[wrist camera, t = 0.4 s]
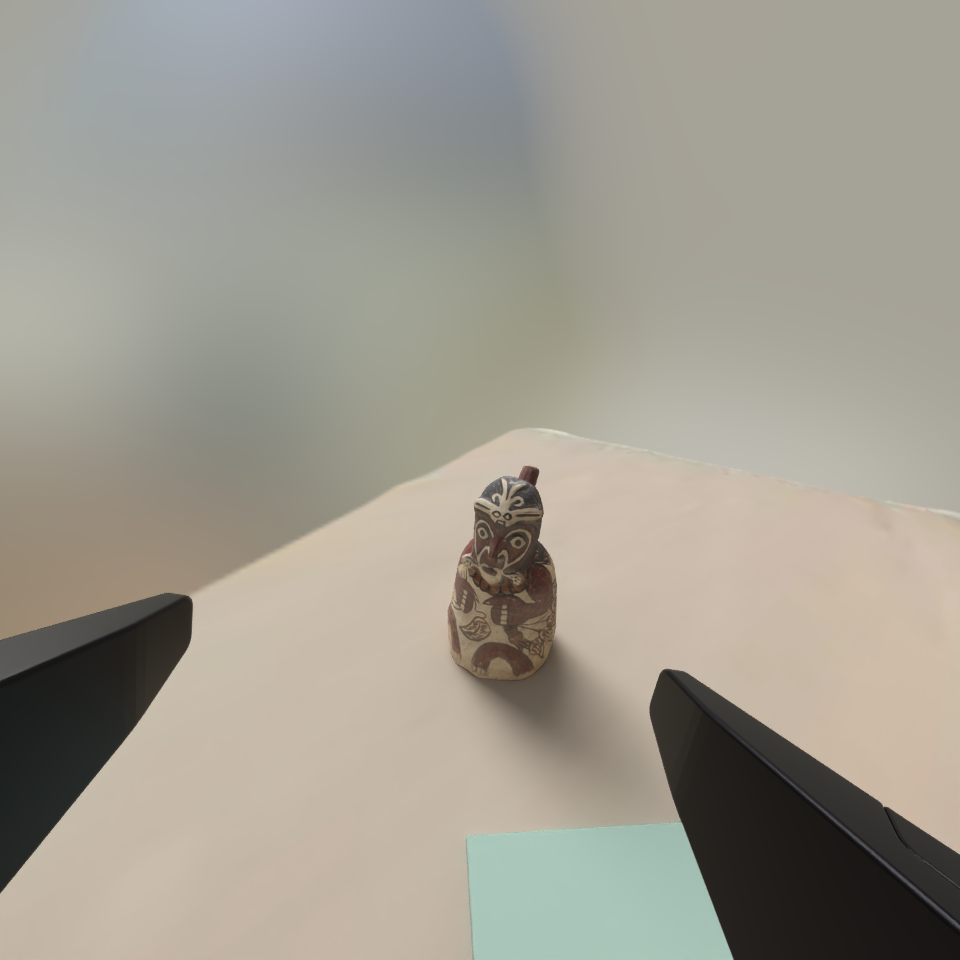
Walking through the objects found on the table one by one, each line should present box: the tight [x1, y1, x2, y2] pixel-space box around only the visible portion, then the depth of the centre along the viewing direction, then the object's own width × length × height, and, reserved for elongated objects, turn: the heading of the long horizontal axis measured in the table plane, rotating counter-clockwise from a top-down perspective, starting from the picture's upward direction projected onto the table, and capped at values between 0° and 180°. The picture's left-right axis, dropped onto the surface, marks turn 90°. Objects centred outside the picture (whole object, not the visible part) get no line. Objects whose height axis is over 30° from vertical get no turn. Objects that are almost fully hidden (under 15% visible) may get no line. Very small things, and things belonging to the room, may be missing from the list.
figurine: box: [448, 465, 557, 680], centre depth 29 cm, size 7×7×12 cm
